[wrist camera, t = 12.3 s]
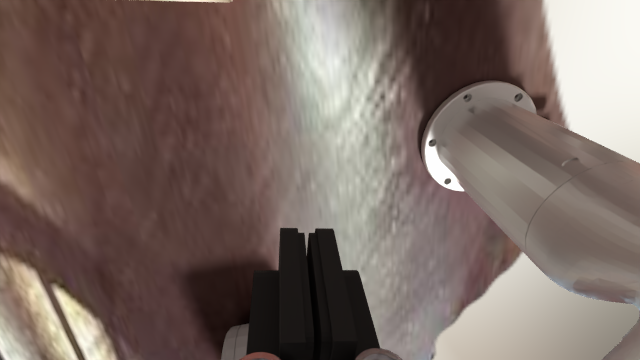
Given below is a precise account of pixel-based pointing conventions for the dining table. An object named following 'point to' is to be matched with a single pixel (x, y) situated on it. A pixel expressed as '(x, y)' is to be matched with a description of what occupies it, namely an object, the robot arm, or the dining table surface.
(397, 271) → the dining table surface
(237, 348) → the grey rounded box
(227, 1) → the dock
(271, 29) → the dining table surface
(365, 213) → the dining table surface
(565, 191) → the robot arm
